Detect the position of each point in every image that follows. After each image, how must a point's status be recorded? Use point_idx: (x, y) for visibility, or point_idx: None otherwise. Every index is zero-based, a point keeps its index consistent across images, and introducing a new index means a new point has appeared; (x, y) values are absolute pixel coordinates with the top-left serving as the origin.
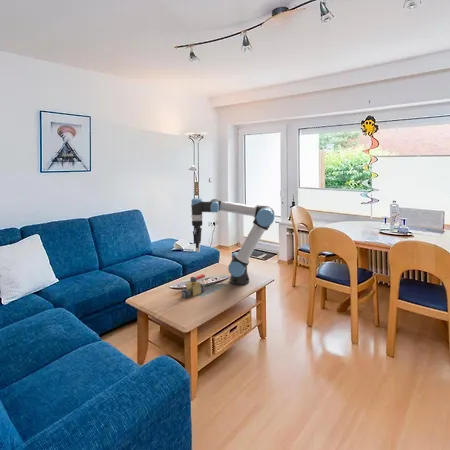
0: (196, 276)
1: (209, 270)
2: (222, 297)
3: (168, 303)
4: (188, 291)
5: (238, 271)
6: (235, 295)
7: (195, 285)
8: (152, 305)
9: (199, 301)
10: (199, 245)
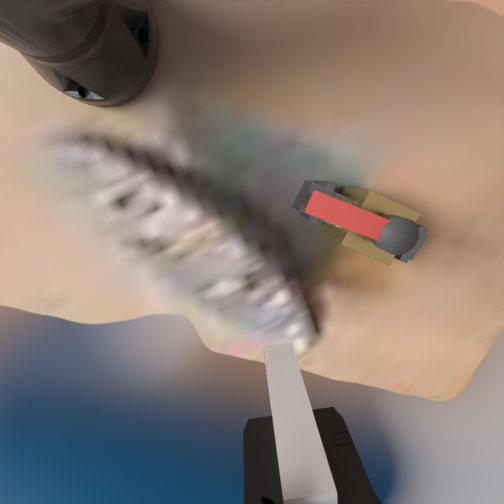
0: (362, 232)
1: (34, 285)
2: (352, 53)
3: (461, 270)
4: (418, 225)
5: None
6: None
7: (401, 205)
8: (485, 313)
9: (422, 154)
10: (299, 437)
